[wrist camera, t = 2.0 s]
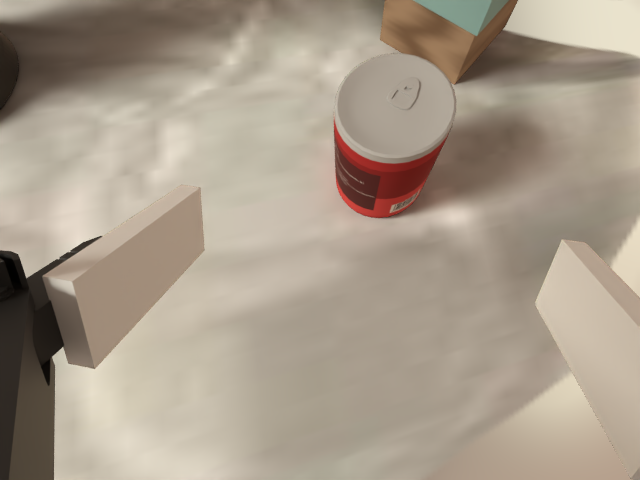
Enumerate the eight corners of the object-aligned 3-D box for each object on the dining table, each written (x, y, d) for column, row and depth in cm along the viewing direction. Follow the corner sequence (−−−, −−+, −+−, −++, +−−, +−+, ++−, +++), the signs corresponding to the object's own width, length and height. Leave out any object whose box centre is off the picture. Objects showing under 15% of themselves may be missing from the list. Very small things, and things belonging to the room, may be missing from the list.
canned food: (431, 153, 35) (469, 65, 25) (409, 232, 33) (440, 173, 22) (351, 132, 36) (355, 39, 26) (324, 207, 34) (317, 140, 24)
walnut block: (379, 40, 39) (386, -14, 34) (431, -14, 41) (446, -74, 35) (454, 85, 37) (474, 35, 31) (504, 26, 39) (533, -31, 33)
